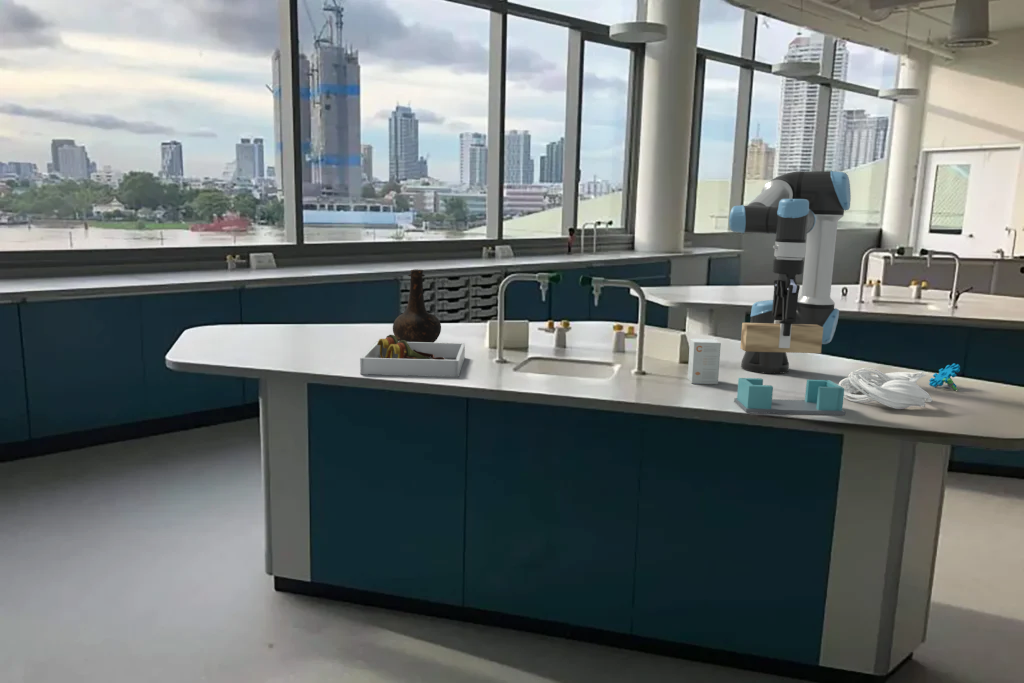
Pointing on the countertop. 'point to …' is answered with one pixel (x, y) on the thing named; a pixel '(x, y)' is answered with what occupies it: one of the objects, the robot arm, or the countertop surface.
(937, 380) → the blue toy flower
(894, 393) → the coil
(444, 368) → the tray
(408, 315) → the glass bottle
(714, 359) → the small box
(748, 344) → the slat
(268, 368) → the countertop surface
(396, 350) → the multicoloured curved piece
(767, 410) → the rail
